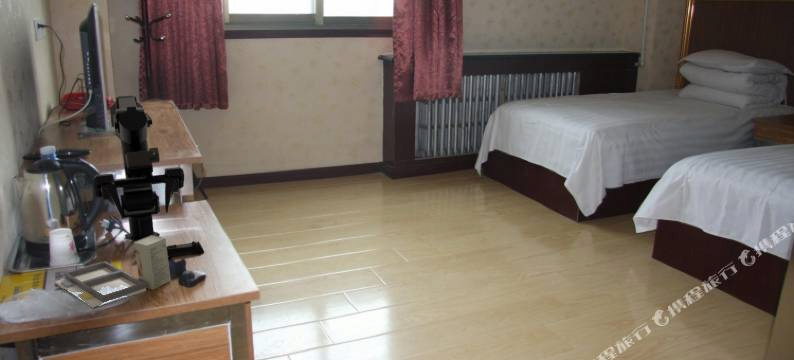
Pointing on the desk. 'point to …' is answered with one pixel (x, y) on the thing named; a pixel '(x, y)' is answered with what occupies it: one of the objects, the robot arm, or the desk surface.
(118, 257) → the desk surface
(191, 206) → the desk surface
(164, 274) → the skincare box
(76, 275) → the divided tray
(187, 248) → the electric trimmer
